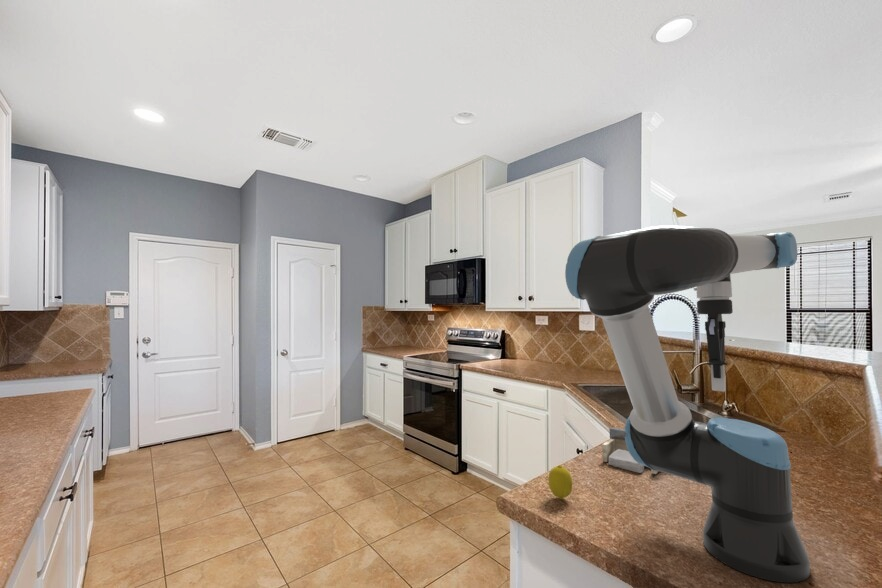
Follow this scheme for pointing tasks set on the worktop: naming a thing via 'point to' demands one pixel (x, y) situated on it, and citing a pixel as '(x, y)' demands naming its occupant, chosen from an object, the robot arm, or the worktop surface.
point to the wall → (617, 433)
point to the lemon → (560, 482)
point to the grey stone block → (625, 461)
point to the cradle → (614, 445)
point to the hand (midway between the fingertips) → (718, 390)
